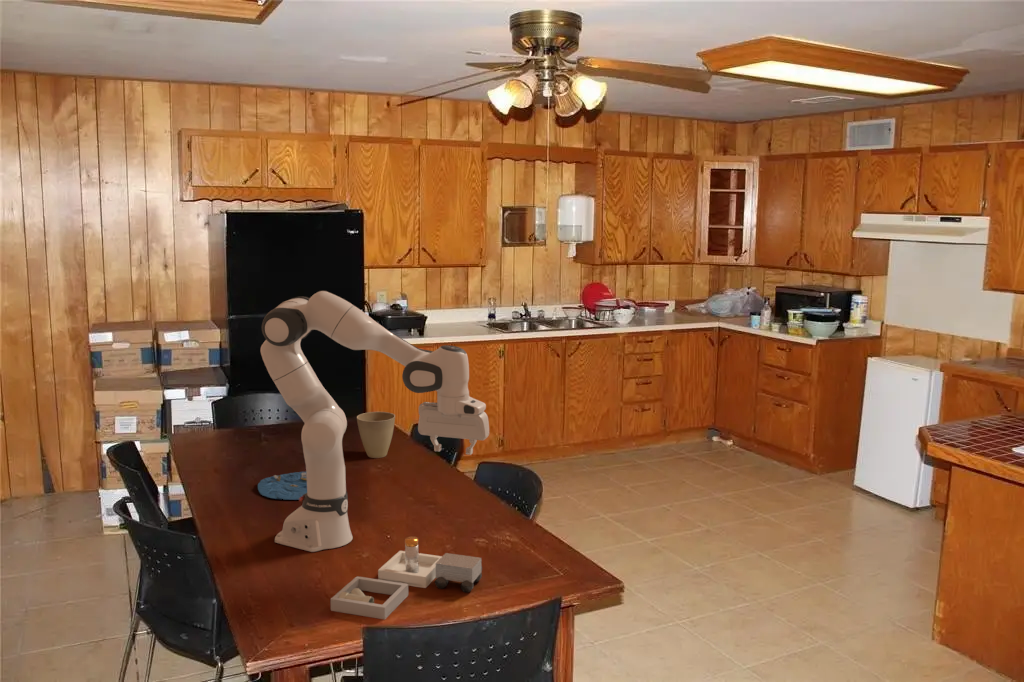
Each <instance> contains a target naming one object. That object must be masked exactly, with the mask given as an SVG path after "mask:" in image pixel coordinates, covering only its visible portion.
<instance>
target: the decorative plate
mask: <svg viewBox="0 0 1024 682" xmlns="http://www.w3.org/2000/svg"><path fill="white" fill-rule="evenodd" d="M257 490H258V493H259V494H260V495H262V496H264V497H266V498H270V499H272V500H274V499H275V500H282V499H283V501H288V500H291V501H292V500H294V501H297V500H298V501H299V500H300V499H299V498H300V497H302V496H303V495H304V494H306V493H307V473H306V471H299V472H298V471H297V472H296V471H294V472H289V473H282V474H280V475H276V474H273V476H270V477H269V476H268V477H265V478H263V479H260V480H259V482H258V484H257Z"/></svg>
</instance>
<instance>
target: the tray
mask: <svg viewBox="0 0 1024 682" xmlns="http://www.w3.org/2000/svg"><path fill="white" fill-rule="evenodd" d="M418 554H419V572H418V573H409V572H406V571H405V550H398V552H397V553H395V554H394V555H393V556H392V557H391V558H389V560H388V561H387V562H385V563H384V564H383V565H382V566H381V567H379V569H378V570H377V575H378V576H377V579H378V580H385V581H392V582H398V583H405V584H408V587H410V586H411V587H416V588H421V589H422V588H423V589H426V588H427V587H428V586H429V585H430V584H431V583H432V582H433V581H434V580H436V579H437V578H436V562H437V561H438V560H439V559H440V558H441V557H442V556H443V555H434V554H427V553H422V552H420V553H419V552H418Z"/></svg>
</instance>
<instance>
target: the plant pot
mask: <svg viewBox="0 0 1024 682" xmlns="http://www.w3.org/2000/svg"><path fill="white" fill-rule="evenodd" d="M395 420H396V414H394V413H391V412H387V411H369V412H365V413H360V414H358V415H356V423H357V426H358V427H357V428H358V431H359V435H360V440H361V443H362V445H363V449H364V450H365V452H366V455H367V457H369V458H371V459H379V458H380V459H382V458H384V457H386V456H387V455H388V451H389V448H390V445H391V442H392V438H393V434H394V429H395Z"/></svg>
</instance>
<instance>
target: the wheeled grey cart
mask: <svg viewBox="0 0 1024 682" xmlns="http://www.w3.org/2000/svg"><path fill="white" fill-rule="evenodd" d="M441 556H442V557H441V558H440V559H439V560H438V561H437V562H436V578H435V579H434V580H435V581H434V584H435V586H436V588H438V589H440V590H442V589H445V588H446V587H447V586H448V585H449V581H452V582H459V583H460V589H461V591H462V592H464V593H467V594H469V593H470V592H471V591H472V590H473V589H474V586H475V584H474V583H476V584H477V583H478V582H480V580H481V579H482V578H483V577H482V576H483V574H482V571H483V565H482V557H479V556H478V557H477V556H471V555H463V554H455V553H450V552H449V553H448V552H445V553H444V554H443V555H441Z"/></svg>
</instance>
